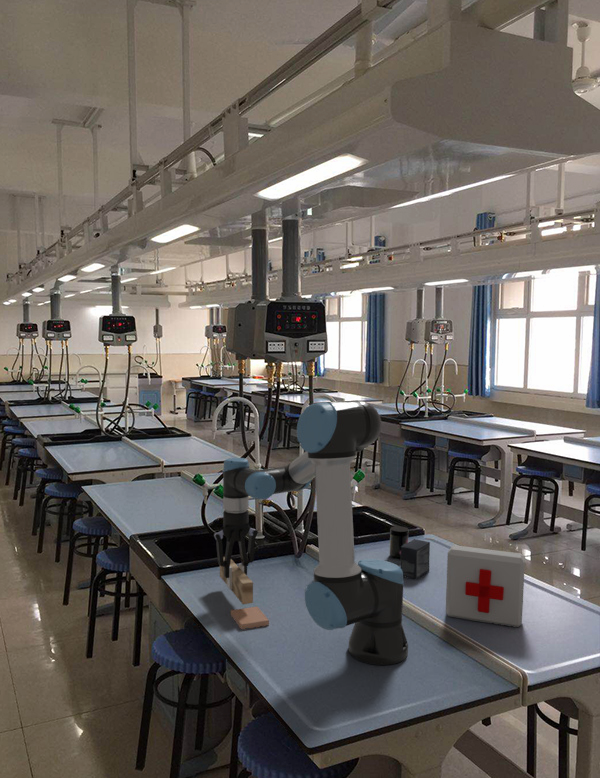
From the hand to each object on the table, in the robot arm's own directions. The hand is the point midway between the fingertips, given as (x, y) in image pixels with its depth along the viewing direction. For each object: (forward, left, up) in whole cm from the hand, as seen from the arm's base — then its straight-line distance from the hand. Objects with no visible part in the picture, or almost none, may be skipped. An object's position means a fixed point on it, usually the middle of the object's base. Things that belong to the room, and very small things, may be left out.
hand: (235, 586), depth 198 cm
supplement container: (+19, -69, -5) cm, 72 cm away
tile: (-14, 0, -4) cm, 14 cm away
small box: (+2, -65, -5) cm, 65 cm away
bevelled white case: (-37, -63, -5) cm, 73 cm away
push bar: (0, 0, -1) cm, 1 cm away
